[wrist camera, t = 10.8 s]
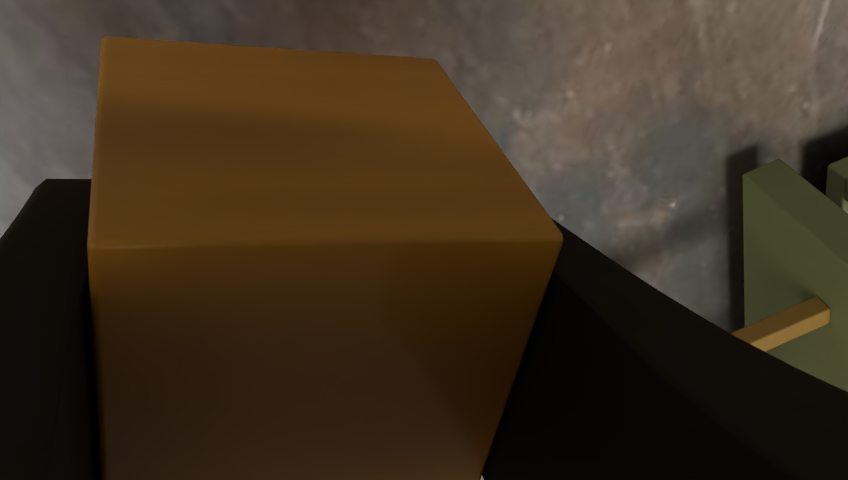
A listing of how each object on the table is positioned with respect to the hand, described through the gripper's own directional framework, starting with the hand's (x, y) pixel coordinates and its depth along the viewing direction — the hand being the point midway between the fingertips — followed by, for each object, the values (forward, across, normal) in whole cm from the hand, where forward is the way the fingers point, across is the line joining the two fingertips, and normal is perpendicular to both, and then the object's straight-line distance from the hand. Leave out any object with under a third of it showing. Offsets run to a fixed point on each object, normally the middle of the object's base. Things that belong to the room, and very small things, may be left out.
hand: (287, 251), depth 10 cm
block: (+1, 0, 0) cm, 1 cm away
